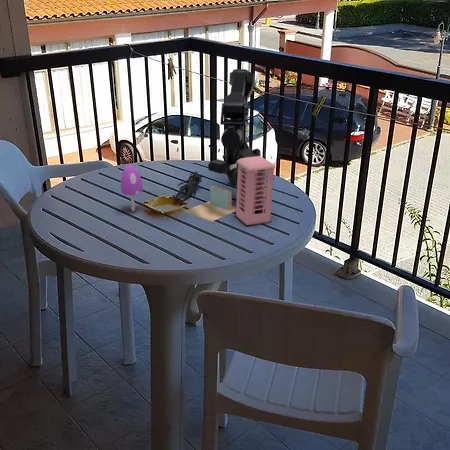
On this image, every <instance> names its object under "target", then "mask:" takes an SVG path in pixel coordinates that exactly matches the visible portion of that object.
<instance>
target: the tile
mask: <svg viewBox="0 0 450 450" xmlns="http://www.w3.org/2000/svg"><path fill="white" fill-rule="evenodd" d="M232 197H233V196H232V191H231V190H228V189H225V188H222V187H219V186H216V185H210V186H209V201H210V204H211V205H214V206H217V207H220V208H222V209H225V210H231V208H232V205H233V204H232V202H233V199H232Z"/></svg>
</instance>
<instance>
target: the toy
mask: <svg viewBox="0 0 450 450" xmlns="http://www.w3.org/2000/svg"><path fill="white" fill-rule="evenodd" d="M120 191H121V192H120V193H122V195H125V196H130V200H131V212H135V211H136V204H135V197H134V196H135V195H136V196H137V195H140V194H141V193H142V192H143V182H142V177H141V175H140V173H139V170H138V169H137V168H136V167H135V166H134V165H131V164H129V165H127V166H125V168H124V169H123V171H122V172H121V176H120Z"/></svg>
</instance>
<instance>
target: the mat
mask: <svg viewBox="0 0 450 450" xmlns="http://www.w3.org/2000/svg"><path fill="white" fill-rule="evenodd" d="M184 212H185V213H188V214H190V215H192V216H195V217H198V218H201V219H203V220H206V221H209V222H214V221H216V220H219V219H221V218H224V217H225V216H228V215H230V214H233V213H236V205H233V204H232V208H231V210H225V209H222V208H220V207H217V206H214V205H211V204H210V200H208V201H206V202H203V203H201V204H199V205H196V206H194V207H191V208H188V209H186V210H184Z"/></svg>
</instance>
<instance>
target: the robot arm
mask: <svg viewBox="0 0 450 450" xmlns="http://www.w3.org/2000/svg"><path fill="white" fill-rule="evenodd" d="M255 85H256V75H255V73H254V72H251V71H249V70H248V69H246V68H235V69H232V71H230V72H229V86H231V88H230V91H229V92H230V93H229V94H228V95H226V96H225V98H224V101H223V102H222V103H221V112H220V121H219V123H220V125H221V126H223V125H224V127H225V128H224V131H223V132H222V135H221V137H220V142H221V144H222V147H224V148H225V154H222V159H225V160H221V159H219V158H217V159H215V160H211V161H209V162H208V163H207V164H208V166H207V167H208V169H207V170H208V171H210V172H213V173H216V174H219V175H223V174H226V176H227V178H228V180H229V181H227V182H226V183H227V184H228V185H231V186H232V187H234V188H235V187H237V179H238V163H236V162H237V160H239V159H241V158H247V157H256V156H261V150H260V149H259V148H255V149H251V148H250V147H249V145H248V142H247V126H248V125H247V123H248V122H249V114H250V112H249V111H250V107H249V106H248V104H249V103H248V100H249V97H250V96H251V95H252V93H253V88H254V87H255ZM261 157H262V156H261ZM243 174H244V170H243ZM245 174H246V171H245ZM243 178H244V175H243ZM245 178H246V176H245ZM245 180H246V179H245ZM243 183H244V180H243ZM243 187H244V185H243Z"/></svg>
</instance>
